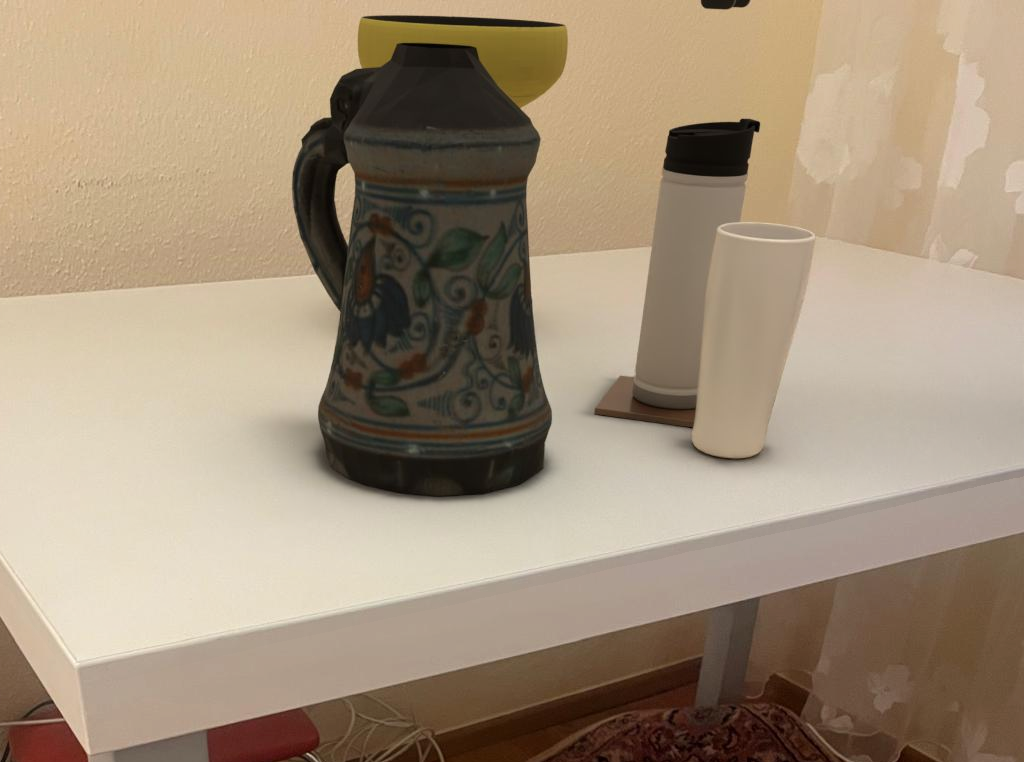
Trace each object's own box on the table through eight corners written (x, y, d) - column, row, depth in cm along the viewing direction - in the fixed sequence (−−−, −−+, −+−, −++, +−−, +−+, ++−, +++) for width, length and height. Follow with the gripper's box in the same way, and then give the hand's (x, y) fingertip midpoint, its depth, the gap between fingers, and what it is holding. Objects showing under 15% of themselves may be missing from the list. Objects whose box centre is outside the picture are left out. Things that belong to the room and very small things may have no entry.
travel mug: (724, 409, 96) (775, 125, 84) (645, 411, 95) (686, 123, 83) (697, 386, 101) (741, 115, 89) (622, 387, 100) (657, 113, 88)
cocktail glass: (401, 358, 107) (408, 25, 92) (330, 310, 120) (327, 13, 105) (577, 342, 113) (609, 28, 98) (491, 299, 126) (508, 17, 112)
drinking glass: (716, 428, 93) (753, 218, 85) (790, 452, 89) (837, 234, 81) (662, 445, 90) (695, 227, 81) (737, 471, 86) (780, 244, 77)
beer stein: (535, 509, 78) (576, 62, 64) (250, 481, 81) (227, 45, 66) (557, 430, 92) (594, 45, 77) (311, 408, 94) (303, 31, 80)
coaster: (736, 396, 101) (737, 390, 100) (720, 431, 93) (721, 424, 93) (619, 381, 103) (620, 375, 103) (594, 414, 95) (594, 407, 95)
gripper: (827, -336, 66) (770, 13, 76) (841, -291, 78) (790, 8, 87) (692, -332, 68) (653, 8, 78) (725, -289, 79) (687, 4, 89)
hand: (725, 8), depth 82 cm, fingers open, 8 cm apart
